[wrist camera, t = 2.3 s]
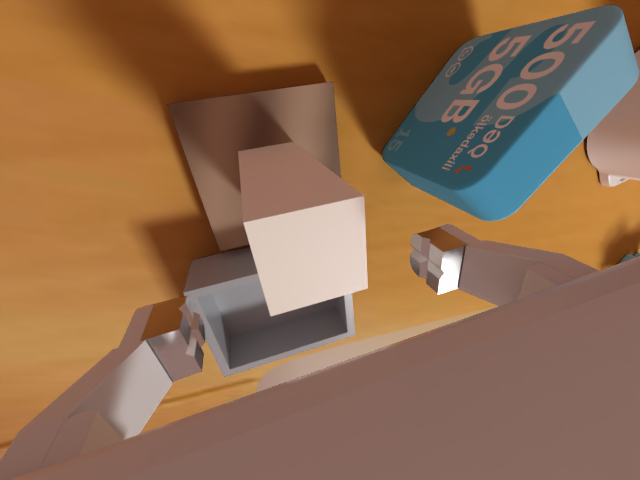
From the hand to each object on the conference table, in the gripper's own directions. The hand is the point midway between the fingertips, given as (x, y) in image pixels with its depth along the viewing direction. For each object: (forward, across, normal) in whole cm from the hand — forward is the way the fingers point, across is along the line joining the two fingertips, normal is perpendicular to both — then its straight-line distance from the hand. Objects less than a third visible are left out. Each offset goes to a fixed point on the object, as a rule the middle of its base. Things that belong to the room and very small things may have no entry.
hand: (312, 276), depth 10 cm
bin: (+16, +1, +12) cm, 21 cm away
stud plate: (+16, -1, 0) cm, 16 cm away
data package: (+16, -17, -2) cm, 23 cm away
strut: (+15, -1, 0) cm, 15 cm away
